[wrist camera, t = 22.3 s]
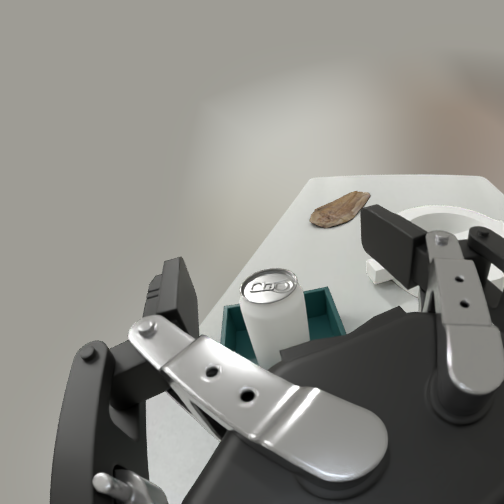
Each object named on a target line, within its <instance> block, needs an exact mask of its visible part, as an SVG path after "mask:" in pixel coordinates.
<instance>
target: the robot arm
mask: <svg viewBox="0 0 504 504" xmlns="http://www.w3.org/2000/svg"><path fill="white" fill-rule="evenodd" d="M360 215H361V241H362V245H363V248H364V250H365V251H366V253H368V254H369V255H370V256H371V257H372V258H373V259H374V260H375V261H377V262H378V263H379V264H380V265H381V266H382V267H383V268H384V269H386V270H387V271H388V272H389V273H390V274H391V275H392V276H393V277H394V278H395V279H396V280H398V281H399V282H400V283H401V284H402V285H403V286H404V287H405V288H406V289H407V290H409V289H411V288H414V287H416V286H418V285H419V292H418V302H419V312H411V313H406V312H405V311H404V310H403V309H402V308H401V307H400V306H398V307H395V308H393V309H391V310H389V311H386V312H384V313H382V314H379V315H377V316H374V317H373V318H371V319H370V320H369V321H367V322H366V323H364V324H363V325H361V326H360V327H359V328H357V329H356V330H354V331H353V332H351V333H349V334H347V335H341V336H335V337H329V338H322V339H315V340H311V341H308V342H305V343H302V344H299V345H295V346H292V347H289V348H286V349H283V350H279V351H280V356H281V360H282V361H280V362H278V363H276V364H275V365H273V366H272V367H271V368H269V369H268V370H265V369H263V368H261V367H260V366H258V365H256V364H254V363H252V362H251V361H249V360H247V359H245V358H243V357H242V356H240V355H238V354H236V353H235V352H233V351H231V350H230V349H228V348H226V347H224V346H223V345H221V344H219V343H218V342H216V341H214V340H213V339H211V338H210V337H208V336H206V335H200V336H199V322H198V305H197V296H196V293H195V289H194V286H193V284H192V281H191V278H190V276H189V273H188V271H187V268H186V265H185V263H184V260H183V258H182V257H178V258H174V259H171V260H167V261H165V262H164V266H163V271H162V274H161V275H157V276H155V277H154V279H153V280H152V281H151V283H150V284H149V289H148V293H147V299H146V303H145V308H144V313H143V317H142V318H141V319H140V320H138V321H137V322H136V323H134V324H133V325H132V327H131V328H130V330H129V332H128V340H127V341H125V342H123V343H121V344H119V345H117V346H115V347H113V348H110V349H109V348H108V347H107V345H106V344H105V343H104V342H102V341H92V342H89V343H87V344H86V345H84V346H83V347H82V348H80V349H79V351H78V352H77V353H76V355H75V357H74V360H73V363H72V367H71V371H70V375H69V378H68V382H67V386H66V390H65V394H64V399H63V403H62V408H61V413H60V418H59V424H58V429H57V435H56V441H55V448H54V456H53V464H52V474H51V475H52V476H51V489H50V504H168V501H167V498H166V495H165V493H164V492H163V490H162V489H161V488H160V487H158V486H157V485H156V484H154V483H152V482H150V481H149V472H148V458H147V439H146V400H147V399H149V398H152V397H154V396H156V395H158V394H160V393H162V392H164V391H165V392H166V393H167V394H168V395H169V396H170V397H171V398H172V399H173V400H174V401H175V402H176V403H177V404H179V405H180V406H181V407H182V408H183V409H184V410H185V411H186V412H187V413H188V414H189V415H191V416H192V417H193V418H194V419H195V420H196V421H197V422H198V423H199V424H200V425H201V426H202V427H203V428H204V429H205V430H206V431H207V432H208V433H210V434H211V435H212V436H213V437H214V438H215V439H217V440H218V441H219V442H220V443H219V445H218V447H217V448H216V450H215V452H214V453H213V455H212V456H211V458H210V460H209V461H208V463H207V464H206V466H205V468H204V469H203V471H202V472H201V474H200V475H199V477H198V479H197V480H196V482H195V483H194V485H193V486H192V488H191V489H190V491H189V492H188V494H187V495H186V497H185V498H184V500H183V501H182V503H181V504H504V289H503V292H502V291H501V290H500V289H499V288H497V287H496V286H495V285H494V284H493V283H492V282H491V281H489V280H488V279H487V278H488V274H489V271H490V267H491V263H492V264H493V265H494V266H496V267H497V268H498V269H500V270H501V271H502V272H503V273H504V238H503V237H501V236H500V235H498V234H497V233H495V232H494V231H492V230H490V229H488V228H486V227H482V226H474V227H471V228H470V229H469V234H468V239H463V240H458V239H457V238H456V236H455V235H453V234H452V233H449V232H447V231H442V230H434V231H430V232H427V231H425V230H424V229H422V228H420V227H419V226H417V225H415V224H414V223H413V224H412V222H410V221H409V220H406V219H405V218H404V217H402V216H400V215H398V214H395V213H392V212H390V211H388V210H387V209H385V208H383V207H381V206H379V205H377V204H376V205H372V206H368V207H364V208H362V209H361V213H360ZM492 323H493V324H494V325H493V324H492Z"/></svg>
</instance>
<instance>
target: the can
mask: <svg viewBox="0 0 504 504" xmlns="http://www.w3.org/2000/svg"><path fill="white" fill-rule="evenodd" d="M240 294H241V297H240V308H241V312H242V315H243V318H244V322H245V325H246V328H247V331H248V334H249V337H250V340H251V343H252V346H253V349H254V352H255V355H256V358H257V361H258V364H259V366H260V367H261V368H263V369H265V370H268V369H269V368H271V367H272V366H273V365H275V364H276V363H278V362H280V361H282V360H281V356H280V351H279V350H283V349H286V348H289V347H292V346H295V345H299V344H302V343H305V342H308V341H310V337H309V329H308V321H307V313H306V305H305V299H304V293H303V289H302V287H301V286H300V284H299V283H298V281H297V277H296V275H295V274H294V273H292V272H291V271H289V270H286V269H282V268H270V269H264V270H261V271H258V272H256V273H254V274H252V275H250V276H249V277H247V278H246V279H245V280H244V281H243V283H242V284H241V286H240Z"/></svg>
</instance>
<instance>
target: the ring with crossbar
mask: <svg viewBox="0 0 504 504" xmlns="http://www.w3.org/2000/svg"><path fill="white" fill-rule="evenodd" d="M396 214H398V215H400V216H402V217H404V218H405V219H406V220H409V221H410V222H412V224H413V223H414V224H415V225H417V226H419V227H420V228H422V229H424V230H425V231H427V232H430V231H434V230H442V231H447V232H449V233H452V234H453V235H455V236H456V238H457V239H458V240H463V239H468V234H469V229H470V228H471V227H474V226H482V227H486V228H488V229H490V230H492V231H494V232H495V233H497V234H498V235H500V236H501V237H503V238H504V222H503V221H501V220H497V221H496V220H494V219H492V218H490V217H488V216H486V215H484V214H481V213H479V212H476V211H472V210H469V209H465V208H460V207H454V206H445V205H428V206H419V207H414V208H409V209H406V210H403V211H401V212H398V213H396ZM366 274H367V275H368V276H369V277H370V279H371V280H372V281H373V282H374V284H378V283H382V282H385V281H388V280H391V279H392V280H393V281H394V282H395V283H396V284H397V285H398V286H400V287H401V288H402V289H404V290H405V291H407V292H408V293H410V294H412V295H414V296H415V297H417V298H418V292H419V285H418V286H416V287H414V288H411V289H409V290H407V289H406V288H405V287H404V286H403V285H402V284H401V283H400V282H399V281H398V280H396V279H395V278H394V277H393V276H392V275H391V274H390V273H389V272H388V271H387V270H386V269H384V268H383V267H382V266H381V265H380V264H379V263H378V262H377V261H375V260H374V259H369V260H366ZM487 279H488V280H489V281H491V282H492V283H493V284H494V285H495V286H496V287H497V288H499V289H500V290H501V291H502V292H503V289H504V273H503V272H502V271H501V270H500V269H498V268H497V267H496V266H494V265H493V264H492V263H491V267H490V271H489V274H488V278H487Z"/></svg>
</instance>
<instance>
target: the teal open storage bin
mask: <svg viewBox="0 0 504 504" xmlns="http://www.w3.org/2000/svg"><path fill="white" fill-rule="evenodd" d="M303 293H304V299H305V305H306V313H307V321H308V329H309V337H310V341H311V340H315V339H322V338H329V337H335V336H341V335H347V334H346V332H345V329H344V326H343V324H342V321H341V319H340V316H339V313H338V311H337V308H336V306H335V303H334V301H333V298H332V296H331V293H330V291H329V288H328V287H324V288H318V289H314V290H309V291H304V292H303ZM220 344H221V345H223V346H224V347H226V348H228V349H230V350H231V351H233V352H235V353H236V354H238V355H240V356H242V357H243V358H245V359H247V360H249V361H251V362H252V363H254V364H256V365H258V366H259V364H258V361H257V358H256V355H255V352H254V349H253V346H252V343H251V340H250V337H249V334H248V331H247V328H246V325H245V322H244V318H243V315H242V312H241V308H240V304H235V305H229V306H224V311H223V321H222V331H221V342H220Z"/></svg>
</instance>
